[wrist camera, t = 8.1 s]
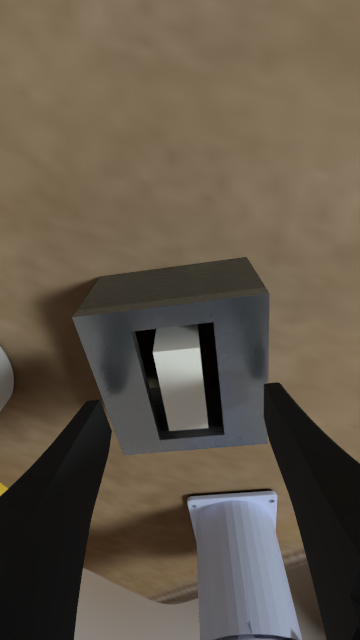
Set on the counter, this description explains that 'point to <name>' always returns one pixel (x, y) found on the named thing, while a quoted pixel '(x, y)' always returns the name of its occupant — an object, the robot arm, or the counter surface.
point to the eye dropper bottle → (5, 379)
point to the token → (181, 376)
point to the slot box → (170, 311)
